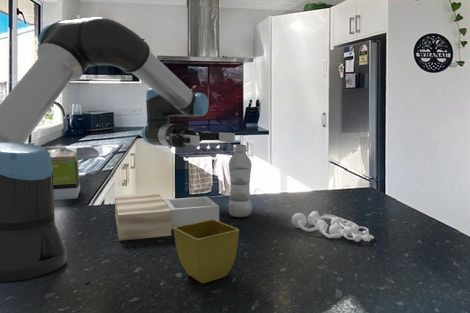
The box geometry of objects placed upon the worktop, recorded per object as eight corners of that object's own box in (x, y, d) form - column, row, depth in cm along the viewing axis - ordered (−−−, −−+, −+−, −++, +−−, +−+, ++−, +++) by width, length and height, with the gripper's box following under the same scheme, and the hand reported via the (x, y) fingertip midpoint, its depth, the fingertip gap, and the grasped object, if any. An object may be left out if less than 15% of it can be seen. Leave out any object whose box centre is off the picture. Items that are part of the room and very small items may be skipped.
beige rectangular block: (171, 235, 98) (170, 210, 97) (119, 240, 94) (118, 215, 93) (158, 213, 119) (158, 192, 118) (115, 216, 115) (114, 195, 114)
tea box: (51, 192, 150) (48, 151, 148) (80, 190, 153) (78, 150, 151) (45, 201, 135) (42, 156, 134) (78, 198, 138) (75, 155, 137)
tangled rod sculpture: (387, 242, 97) (389, 225, 97) (350, 250, 88) (352, 231, 87) (322, 222, 112) (323, 207, 111) (285, 227, 103) (286, 211, 102)
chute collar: (219, 225, 106) (219, 206, 106) (171, 229, 103) (170, 209, 102) (207, 213, 118) (207, 196, 118) (164, 217, 114) (163, 199, 114)
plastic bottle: (224, 218, 113) (223, 145, 111) (235, 212, 119) (235, 143, 117) (245, 220, 110) (244, 146, 108) (255, 215, 116) (255, 144, 114)
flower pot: (198, 291, 68) (197, 238, 67) (173, 274, 75) (172, 226, 74) (240, 278, 73) (240, 229, 72) (213, 263, 80) (213, 218, 79)
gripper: (204, 144, 144) (247, 148, 129) (141, 150, 127) (182, 156, 112) (204, 122, 143) (247, 124, 128) (140, 125, 126) (181, 128, 111)
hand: (217, 139), depth 120 cm, fingers open, 13 cm apart
